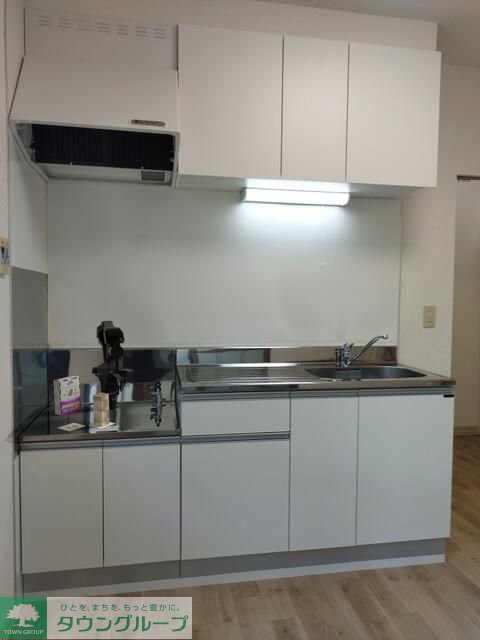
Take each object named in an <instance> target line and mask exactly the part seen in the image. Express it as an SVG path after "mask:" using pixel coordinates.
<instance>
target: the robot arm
mask: <svg viewBox="0 0 480 640" xmlns="http://www.w3.org/2000/svg"><path fill="white" fill-rule="evenodd" d="M95 335H96V336H95V337H96V339H97V343H98V344H99V345H100V346H101V353H102V356H101V357H102V363H100V364H99V365H97V366H94V367H92V369H91V374H93V375H94V376H95V377H97V378H98V381H99V383H100V384H99V390H98V391H99V392H98V393H107V394H108V395H109V411H110V410H113V409H116V408H117V409H118V408H119V407H120V406H119V405H118V403H117V402H118V401H117V396H119V395H120V393H122V392H123V390H124V388H125V386H126V384H127V382H128V381H129V379H130V378H132V377H134V376H135V371H134V370H133V368H132V369H131V368H124V369H122V367H121V365H120V364H121V363H120V362H121V361H122V357H123V356H124V354H125V350H124V348H123V347H122V346H121V344H124V343H125V336H124V335H125V334H124V332H123V330H122V329H121V327H118V326H115V325H114V323H113V321H111V320H103V321H101V322H100V324H99V325H98V326H97V327H96V330H95ZM116 375H118V376H119V377H117V376H116ZM117 378H118V379H117ZM118 380H119V382H118Z"/></svg>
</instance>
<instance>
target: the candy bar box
mask: <svg viewBox="0 0 480 640" xmlns="http://www.w3.org/2000/svg"><path fill="white" fill-rule="evenodd" d="M53 395H54V397H53V401H54V415H57V416H60V417H62V416H65V415H66V416H67V415H70V414H72V413H77V412H80V411H82V403H81V400H82V399H81V379H80V376H78V375H70V376H66V377H62V378H57V379H53Z"/></svg>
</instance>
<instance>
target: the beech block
mask: <svg viewBox="0 0 480 640" xmlns="http://www.w3.org/2000/svg"><path fill="white" fill-rule="evenodd" d="M92 408H93V410H92V411H93V412H92V413H93V417H92V419H93V423H94V425H95V426H105V425H107V424H109V422H110V410H109V395H108V394H107V393H100V392H97V393H96V394H92Z"/></svg>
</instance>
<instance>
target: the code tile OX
mask: <svg viewBox="0 0 480 640" xmlns="http://www.w3.org/2000/svg"><path fill="white" fill-rule="evenodd" d="M115 424H116V423H115V422H111V421H109V424H107V425H105V426H95V425H94V422H93V423H91V424H88V427H93V428H97V429H100V430H101V429H104V428H107V427H109V426H112V425H115Z"/></svg>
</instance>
